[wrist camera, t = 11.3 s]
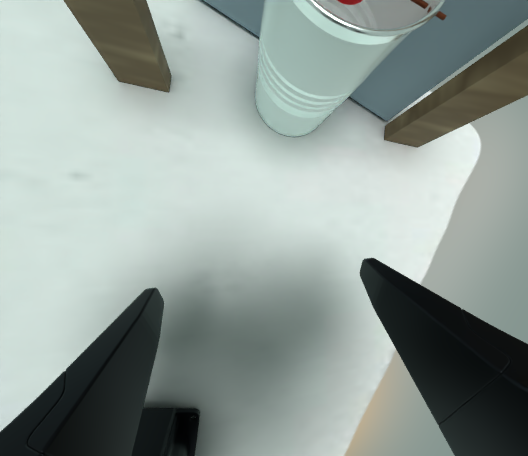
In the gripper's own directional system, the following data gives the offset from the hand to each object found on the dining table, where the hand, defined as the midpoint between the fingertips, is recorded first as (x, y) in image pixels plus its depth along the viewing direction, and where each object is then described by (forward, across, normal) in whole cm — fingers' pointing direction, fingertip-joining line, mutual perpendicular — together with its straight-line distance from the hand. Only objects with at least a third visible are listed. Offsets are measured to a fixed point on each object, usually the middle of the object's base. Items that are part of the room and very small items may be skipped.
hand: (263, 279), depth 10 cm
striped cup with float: (+17, -5, -5) cm, 18 cm away
